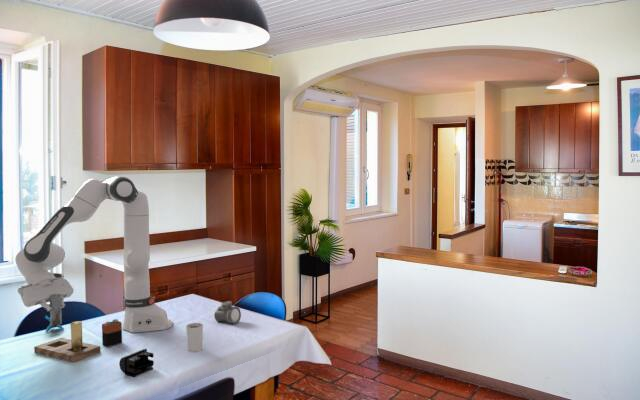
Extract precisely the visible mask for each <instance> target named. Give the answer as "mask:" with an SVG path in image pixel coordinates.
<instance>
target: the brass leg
mask: <svg viewBox="0 0 640 400" xmlns="http://www.w3.org/2000/svg"><path fill="white" fill-rule="evenodd" d="M70 338H71V339H70V340H71V346H72V352H78V351H81V350H83V343H84V342H83V322H82V321H80V320H77V321H72V322H71V323H70Z"/></svg>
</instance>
